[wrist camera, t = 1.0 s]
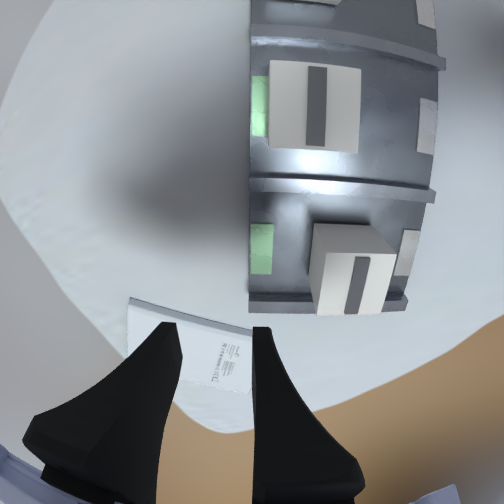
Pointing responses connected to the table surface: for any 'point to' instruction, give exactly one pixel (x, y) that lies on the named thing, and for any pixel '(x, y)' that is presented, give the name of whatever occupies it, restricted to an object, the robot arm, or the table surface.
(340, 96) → the block
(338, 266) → the breaker
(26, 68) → the table surface
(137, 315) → the external hard drive
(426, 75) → the panel
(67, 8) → the table surface
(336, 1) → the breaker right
